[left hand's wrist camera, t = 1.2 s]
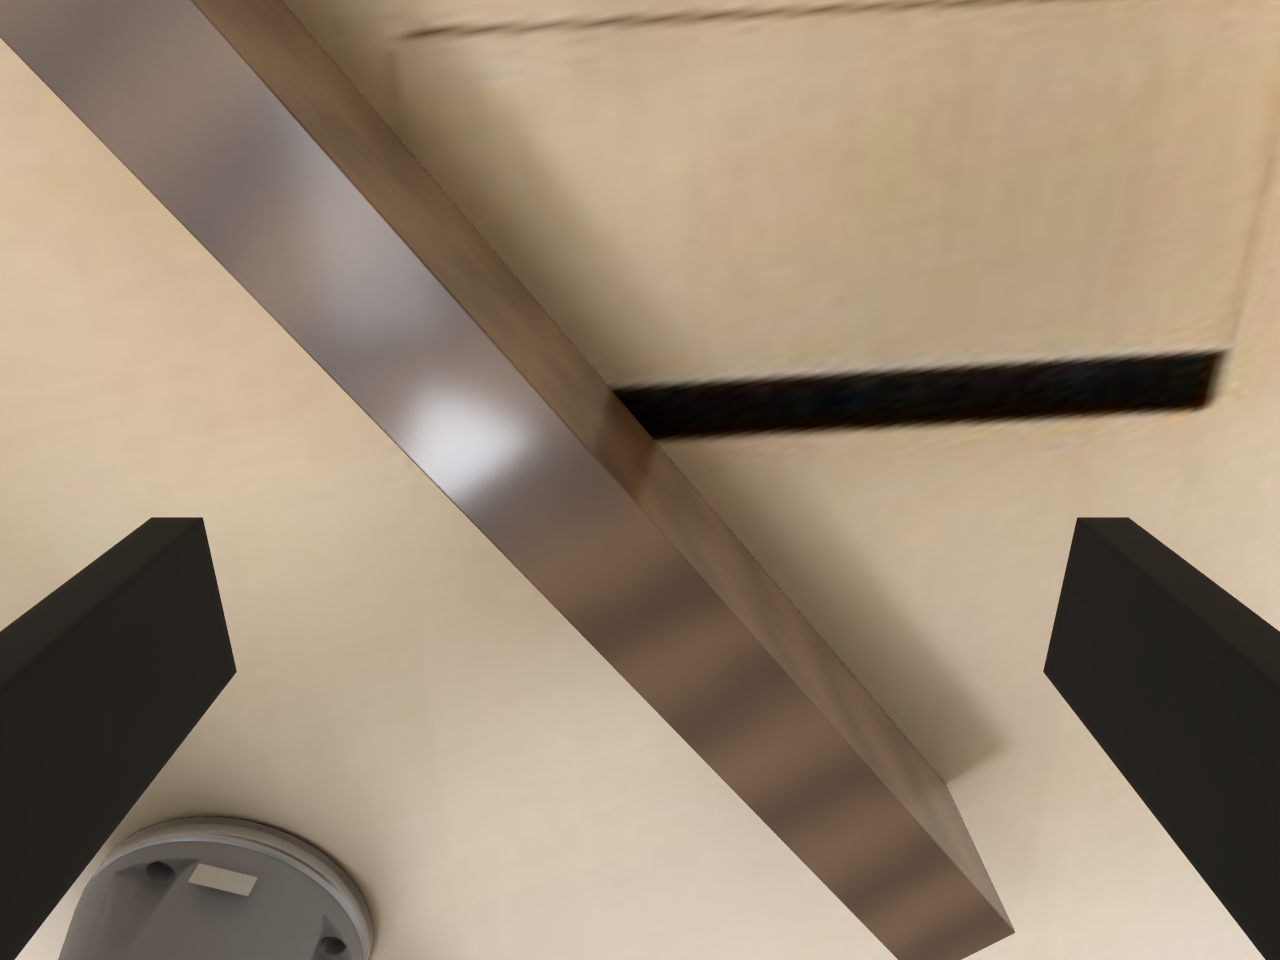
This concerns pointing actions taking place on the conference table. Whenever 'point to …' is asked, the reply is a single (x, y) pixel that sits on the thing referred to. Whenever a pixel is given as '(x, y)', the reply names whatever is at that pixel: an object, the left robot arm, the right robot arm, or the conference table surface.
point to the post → (512, 430)
